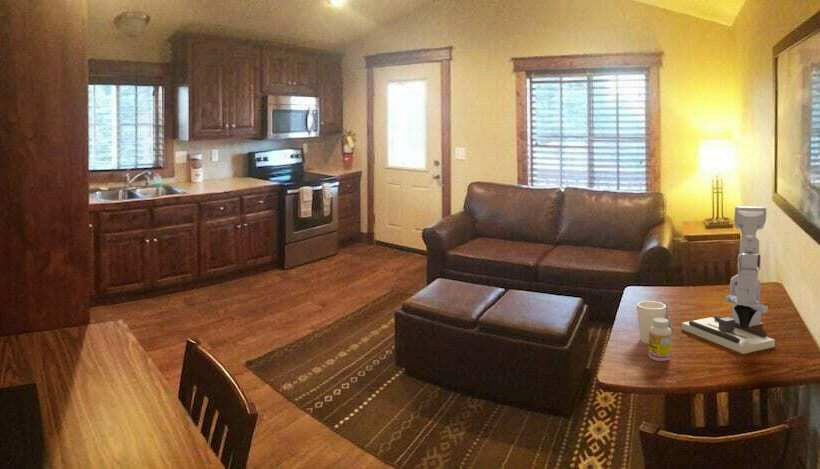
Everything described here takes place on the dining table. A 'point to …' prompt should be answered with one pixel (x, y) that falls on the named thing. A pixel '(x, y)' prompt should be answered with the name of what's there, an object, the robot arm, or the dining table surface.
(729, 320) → the block
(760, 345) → the panel
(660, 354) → the supplement bottle
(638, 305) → the foam cup
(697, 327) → the dark grey guard rails
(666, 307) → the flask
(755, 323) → the robot arm
